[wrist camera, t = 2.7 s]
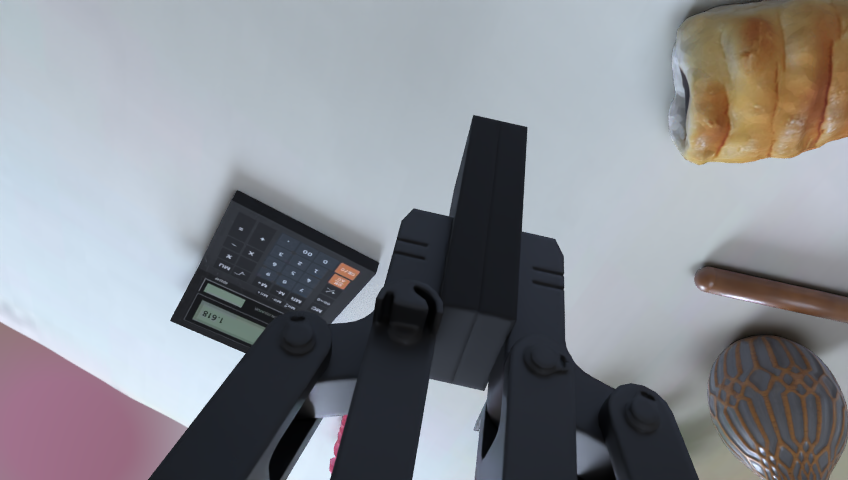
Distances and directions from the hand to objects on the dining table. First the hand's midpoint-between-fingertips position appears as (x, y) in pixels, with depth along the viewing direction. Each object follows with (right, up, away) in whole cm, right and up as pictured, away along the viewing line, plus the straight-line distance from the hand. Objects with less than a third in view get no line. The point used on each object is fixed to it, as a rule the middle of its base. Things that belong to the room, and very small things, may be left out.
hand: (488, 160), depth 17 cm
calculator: (-12, -5, +22) cm, 25 cm away
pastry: (+12, +5, +7) cm, 15 cm away
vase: (+19, -9, +20) cm, 29 cm away
